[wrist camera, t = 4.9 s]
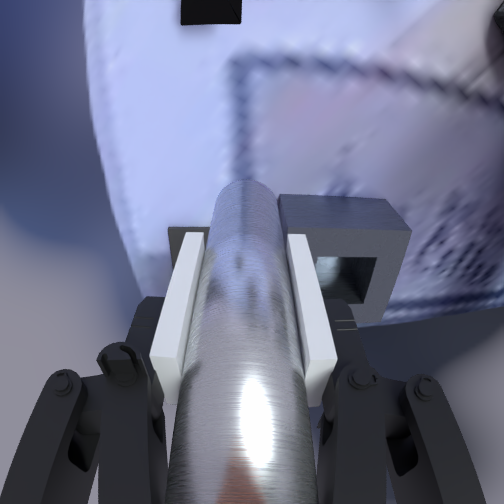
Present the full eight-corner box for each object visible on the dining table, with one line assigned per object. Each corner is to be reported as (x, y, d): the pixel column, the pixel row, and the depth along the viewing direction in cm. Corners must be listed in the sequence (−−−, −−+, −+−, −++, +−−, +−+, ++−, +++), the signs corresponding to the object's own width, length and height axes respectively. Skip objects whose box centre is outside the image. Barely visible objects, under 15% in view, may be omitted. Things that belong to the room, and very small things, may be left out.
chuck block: (385, 199, 33) (412, 231, 27) (364, 283, 40) (380, 321, 34) (280, 194, 33) (288, 227, 27) (273, 284, 39) (277, 325, 34)
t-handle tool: (281, 151, 16) (380, 582, 2) (273, 258, 20) (299, 570, 6) (213, 149, 16) (101, 577, 2) (217, 257, 20) (184, 569, 6)
